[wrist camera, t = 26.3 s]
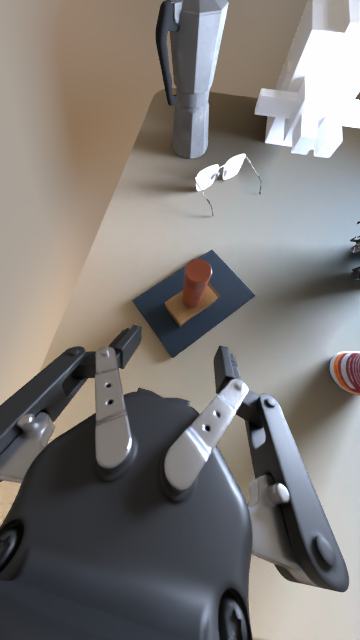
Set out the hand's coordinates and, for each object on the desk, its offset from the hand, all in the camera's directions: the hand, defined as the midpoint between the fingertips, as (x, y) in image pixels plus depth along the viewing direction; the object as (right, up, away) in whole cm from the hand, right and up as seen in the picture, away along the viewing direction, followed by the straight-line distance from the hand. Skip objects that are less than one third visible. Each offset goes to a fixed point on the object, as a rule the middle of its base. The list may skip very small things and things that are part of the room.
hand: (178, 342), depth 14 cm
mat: (+3, +6, +10) cm, 12 cm away
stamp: (+2, +4, +9) cm, 11 cm away
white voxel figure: (+30, +49, +23) cm, 61 cm away
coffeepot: (+2, +46, +21) cm, 51 cm away
